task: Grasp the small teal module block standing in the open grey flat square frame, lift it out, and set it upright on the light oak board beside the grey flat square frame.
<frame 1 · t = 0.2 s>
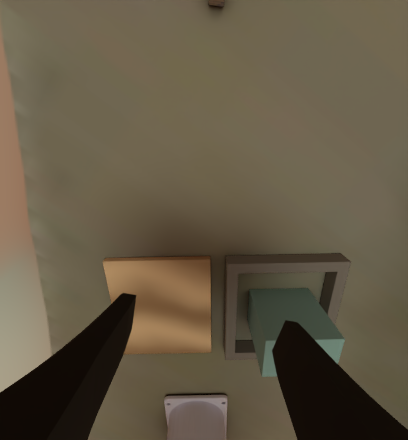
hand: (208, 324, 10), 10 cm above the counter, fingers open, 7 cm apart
board: (163, 307, 22), on the counter
module: (276, 304, 22), resting in grey flat square frame
grey flat square frame: (276, 304, 22), on the counter
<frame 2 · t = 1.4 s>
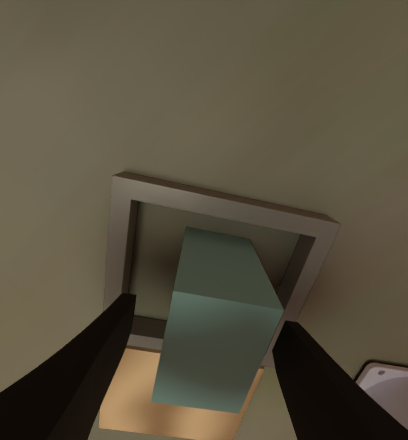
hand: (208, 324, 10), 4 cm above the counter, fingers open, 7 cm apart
board: (176, 392, 18), on the counter
module: (207, 273, 14), resting in grey flat square frame
grey flat square frame: (207, 274, 14), on the counter
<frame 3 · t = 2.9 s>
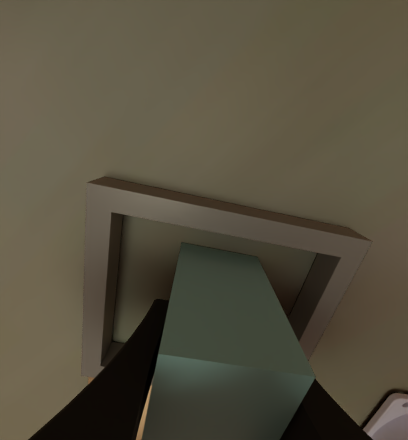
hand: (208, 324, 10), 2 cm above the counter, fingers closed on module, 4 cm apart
module: (207, 296, 12), resting in grey flat square frame, touching gripper
grey flat square frame: (207, 296, 12), on the counter
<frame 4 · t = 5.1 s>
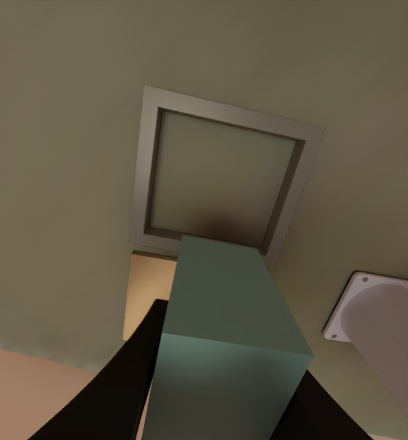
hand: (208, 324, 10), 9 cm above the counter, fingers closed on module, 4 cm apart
board: (190, 305, 21), on the counter
module: (207, 288, 12), point 7 cm above the counter, touching gripper
grey flat square frame: (217, 186, 17), on the counter
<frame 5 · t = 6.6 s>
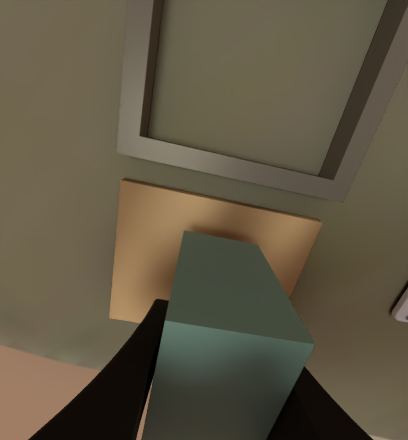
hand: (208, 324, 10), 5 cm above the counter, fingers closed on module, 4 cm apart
board: (206, 269, 14), on the counter
module: (208, 284, 12), point 2 cm above the counter, touching gripper
grey flat square frame: (259, 64, 10), on the counter
when the fingers open (4 cm above the counter, at t = 7.6 s): module drops 1 cm, resting on board.
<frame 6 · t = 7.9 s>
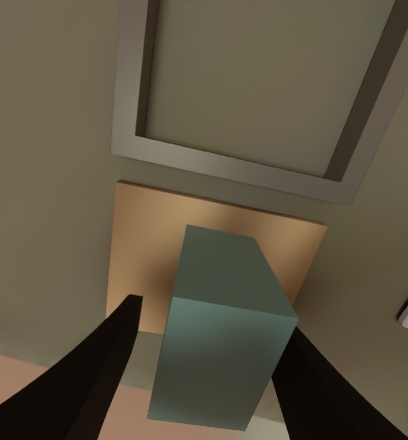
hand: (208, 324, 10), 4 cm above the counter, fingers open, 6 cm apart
board: (206, 274, 14), on the counter
module: (209, 274, 13), point 1 cm above the counter, touching board
grey flat square frame: (262, 59, 10), on the counter
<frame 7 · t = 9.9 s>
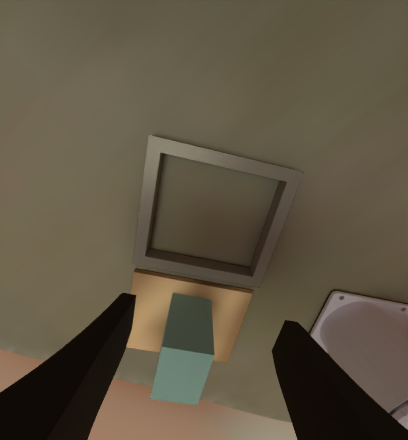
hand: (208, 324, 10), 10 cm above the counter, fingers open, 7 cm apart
board: (185, 317, 23), on the counter
module: (186, 318, 22), point 1 cm above the counter, touching board
grey flat square frame: (210, 215, 19), on the counter
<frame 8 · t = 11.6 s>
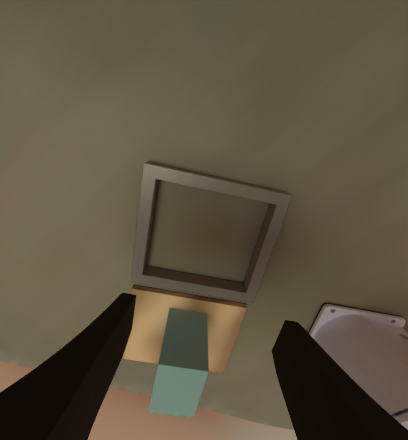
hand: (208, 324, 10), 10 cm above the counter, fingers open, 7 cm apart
board: (182, 330, 24), on the counter
module: (183, 331, 23), point 1 cm above the counter, touching board
grey flat square frame: (205, 234, 20), on the counter
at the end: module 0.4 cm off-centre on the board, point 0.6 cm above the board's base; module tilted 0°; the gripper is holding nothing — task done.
